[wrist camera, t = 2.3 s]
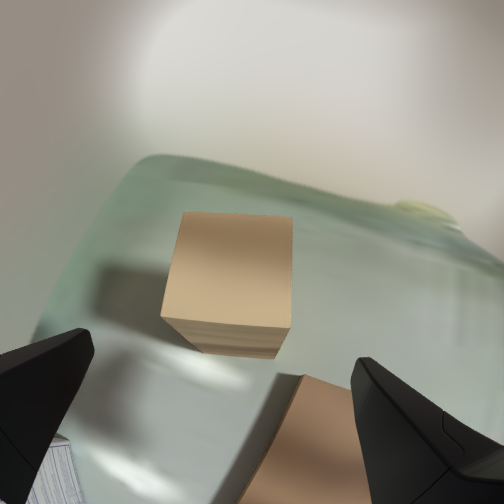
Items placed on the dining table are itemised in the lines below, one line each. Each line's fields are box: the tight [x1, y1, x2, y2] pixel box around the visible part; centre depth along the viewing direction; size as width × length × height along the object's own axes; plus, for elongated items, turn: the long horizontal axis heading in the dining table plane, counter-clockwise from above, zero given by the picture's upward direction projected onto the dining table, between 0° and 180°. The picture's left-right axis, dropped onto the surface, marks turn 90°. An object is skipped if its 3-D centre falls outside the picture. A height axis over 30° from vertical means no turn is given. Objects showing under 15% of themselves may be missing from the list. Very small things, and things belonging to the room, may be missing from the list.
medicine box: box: [0, 438, 85, 504], centre depth 9 cm, size 8×4×9 cm, turn 11°
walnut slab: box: [235, 374, 372, 504], centre depth 14 cm, size 12×9×2 cm
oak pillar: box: [160, 212, 292, 359], centre depth 16 cm, size 5×5×10 cm
